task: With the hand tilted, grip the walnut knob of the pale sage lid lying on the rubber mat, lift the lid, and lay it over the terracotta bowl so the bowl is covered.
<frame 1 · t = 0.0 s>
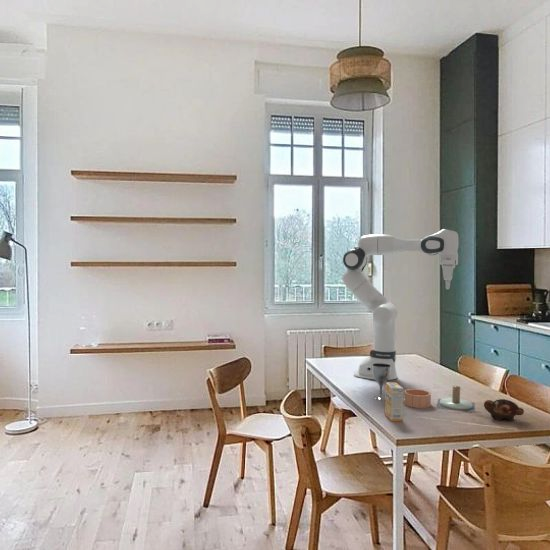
hand: (447, 288, 248), 48 cm above the table, tool pointing down, fingers open, 8 cm apart
decorative turtle: (502, 420, 193), on the table
bowl: (417, 405, 210), on the table
mat: (455, 406, 210), on the table
supplement box: (393, 418, 193), on the table
lid: (455, 405, 210), point 1 cm above the table, touching mat
wine glass: (380, 398, 220), on the table
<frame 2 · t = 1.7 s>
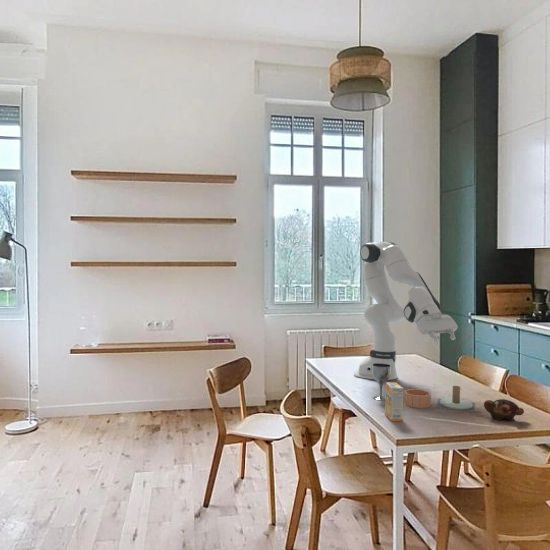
hand: (445, 339, 221), 26 cm above the table, tool tilted 45°, fingers open, 8 cm apart
nothing on the table moved.
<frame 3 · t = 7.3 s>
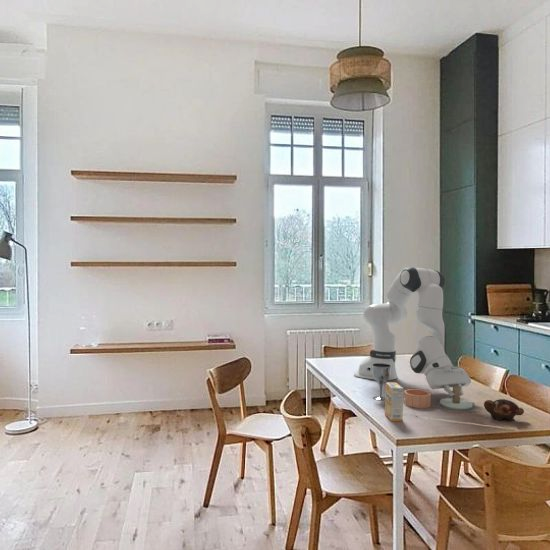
hand: (457, 395, 209), 5 cm above the table, tool tilted 45°, fingers closed on lid, 3 cm apart
lid: (455, 405, 210), point 1 cm above the table, touching gripper, mat
everything else where it was.
when the fingers open (11 cm above the table, at t = 12.2 s): lid drops 1 cm, resting on bowl.
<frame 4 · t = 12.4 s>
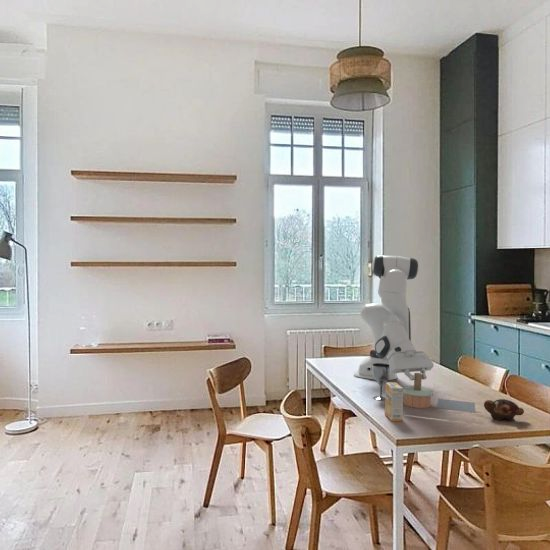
hand: (418, 379, 209), 11 cm above the table, tool tilted 45°, fingers open, 5 cm apart
lid: (417, 392, 210), point 5 cm above the table, touching bowl
everything else where it was.
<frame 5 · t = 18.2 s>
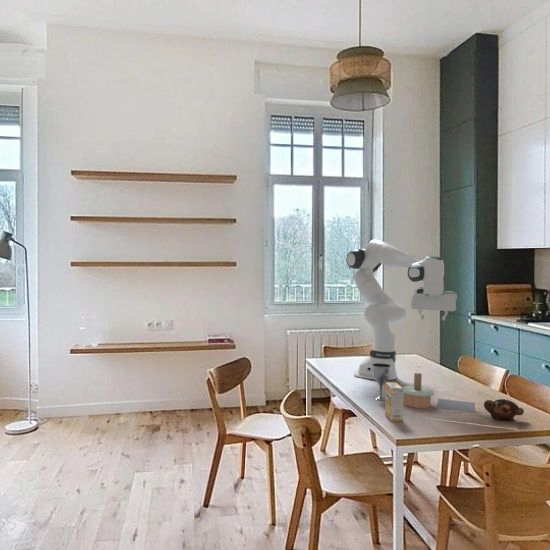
hand: (432, 319, 232), 34 cm above the table, tool pointing down, fingers open, 8 cm apart
nothing on the table moved.
at the end: lid 0.0 cm off-centre on the bowl, point 5.5 cm above the bowl's base; lid tilted 0°; the gripper is holding nothing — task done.
